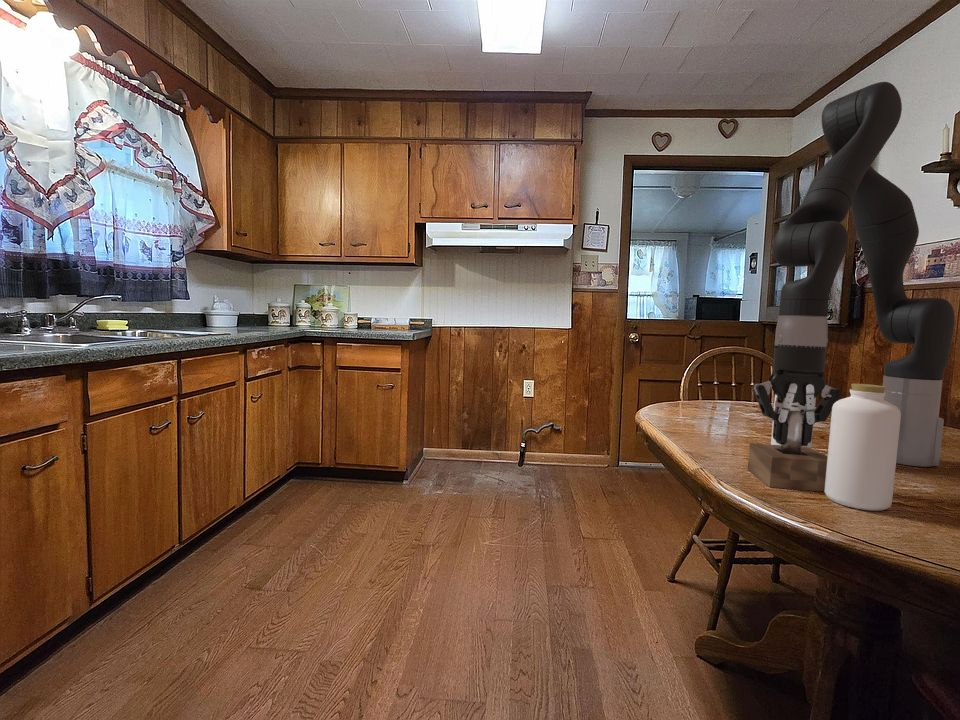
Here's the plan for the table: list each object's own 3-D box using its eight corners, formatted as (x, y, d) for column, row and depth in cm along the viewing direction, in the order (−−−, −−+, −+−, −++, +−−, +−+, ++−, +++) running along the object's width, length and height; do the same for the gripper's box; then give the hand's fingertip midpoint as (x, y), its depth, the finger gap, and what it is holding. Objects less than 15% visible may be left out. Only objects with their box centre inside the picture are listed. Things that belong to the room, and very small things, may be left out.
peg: (795, 455, 90) (799, 410, 90) (803, 460, 87) (808, 412, 87) (777, 454, 91) (781, 408, 90) (784, 458, 88) (788, 411, 87)
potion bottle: (895, 517, 73) (908, 390, 72) (824, 504, 78) (835, 384, 76) (887, 501, 80) (899, 385, 79) (823, 490, 85) (833, 380, 83)
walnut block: (806, 474, 94) (808, 447, 93) (835, 492, 84) (838, 461, 83) (747, 470, 95) (749, 443, 95) (769, 487, 85) (772, 457, 85)
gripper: (833, 344, 90) (824, 442, 92) (748, 340, 92) (740, 436, 94) (858, 346, 83) (847, 452, 84) (764, 342, 85) (755, 446, 86)
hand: (791, 443), depth 89 cm, fingers closed on peg, 3 cm apart
